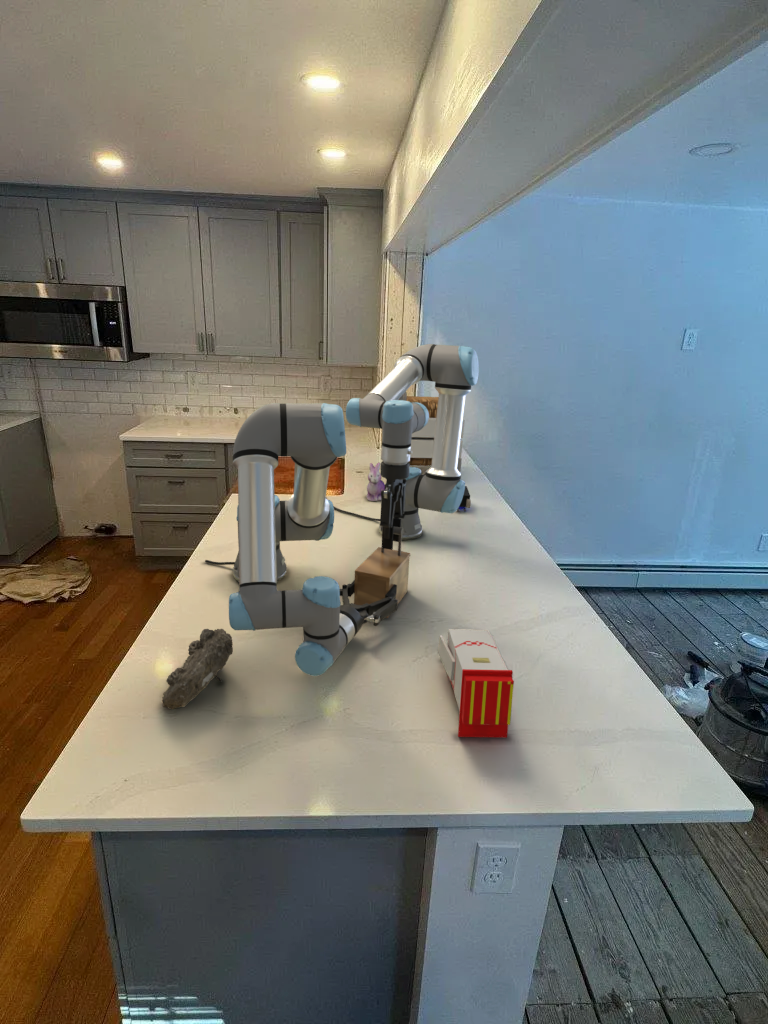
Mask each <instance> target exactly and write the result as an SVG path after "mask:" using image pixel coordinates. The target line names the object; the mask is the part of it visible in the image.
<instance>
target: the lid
mask: <svg viewBox="0 0 768 1024" xmlns="http://www.w3.org/2000/svg"><path fill="white" fill-rule="evenodd" d="M381 532H382V535H381V543H382V542H383V526H381ZM393 534H397V535H399V541H398V543H397V549H392V550H390V549H384V548H382V545H381V546H378V547H377V548H376V549H375V550H374V551H373V552H371V554H370V555H369V556H368V557H367V558H366V559H365V560H363V562H362V563H361V564H360V565H359V566H358V567H357V568H356V569H354V575H355V574H360V575H365V576H369V577H374V578H379V579H384V580H389V581H390V580H391V578H392V577H393V576H394V575H395V574H396V572H397V571H398V570H399V569H400V568H401V566H402V565H403V564H404V563H405V562H406V561H407V559H408V558H409V557H411V555H412V554H411V552H409V551H408V552H407V551H402V542H403V540H402V534H403V528H401V527H395V526H394V533H393Z"/></svg>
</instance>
